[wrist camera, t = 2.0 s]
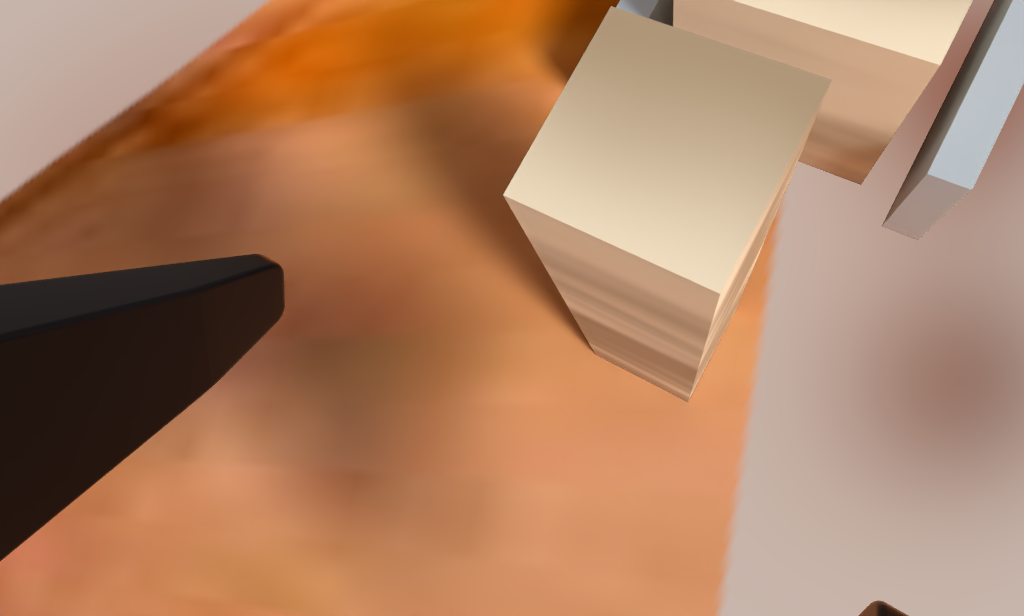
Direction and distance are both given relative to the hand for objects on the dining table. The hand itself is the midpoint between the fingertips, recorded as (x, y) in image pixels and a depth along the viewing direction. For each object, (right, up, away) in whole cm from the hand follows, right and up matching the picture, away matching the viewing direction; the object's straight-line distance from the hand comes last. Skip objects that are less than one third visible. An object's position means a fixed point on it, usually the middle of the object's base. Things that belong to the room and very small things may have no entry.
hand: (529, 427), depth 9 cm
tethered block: (+7, +6, +11) cm, 14 cm away
